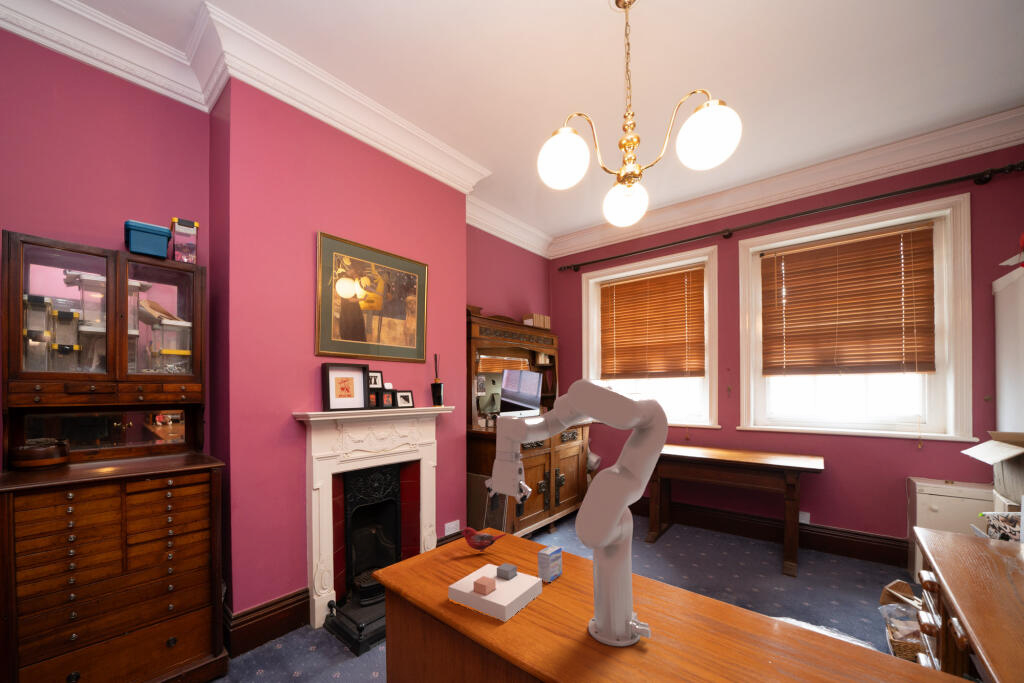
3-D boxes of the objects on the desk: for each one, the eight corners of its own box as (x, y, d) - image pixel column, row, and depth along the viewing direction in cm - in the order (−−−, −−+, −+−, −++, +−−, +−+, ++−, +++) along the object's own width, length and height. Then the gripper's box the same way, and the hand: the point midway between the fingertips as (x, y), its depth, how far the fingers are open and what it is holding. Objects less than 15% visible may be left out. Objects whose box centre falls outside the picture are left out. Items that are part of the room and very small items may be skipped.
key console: (542, 593, 123) (542, 578, 123) (505, 622, 107) (505, 606, 108) (488, 576, 134) (488, 563, 134) (448, 601, 118) (448, 586, 119)
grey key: (516, 576, 126) (516, 566, 127) (508, 581, 123) (508, 571, 123) (505, 573, 129) (505, 562, 129) (496, 578, 125) (496, 567, 125)
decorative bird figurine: (460, 555, 152) (460, 526, 153) (506, 549, 157) (506, 521, 158) (461, 558, 149) (461, 529, 150) (508, 552, 154) (508, 524, 156)
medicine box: (549, 584, 129) (549, 554, 130) (537, 580, 131) (537, 551, 132) (562, 575, 135) (562, 547, 136) (551, 571, 138) (550, 544, 139)
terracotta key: (495, 590, 117) (495, 579, 117) (486, 597, 114) (486, 585, 114) (483, 586, 120) (483, 575, 120) (473, 593, 116) (473, 581, 116)
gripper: (537, 458, 127) (537, 515, 125) (494, 451, 137) (492, 504, 136) (523, 461, 121) (522, 522, 119) (479, 454, 131) (477, 510, 130)
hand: (506, 512), depth 127 cm, fingers open, 9 cm apart
